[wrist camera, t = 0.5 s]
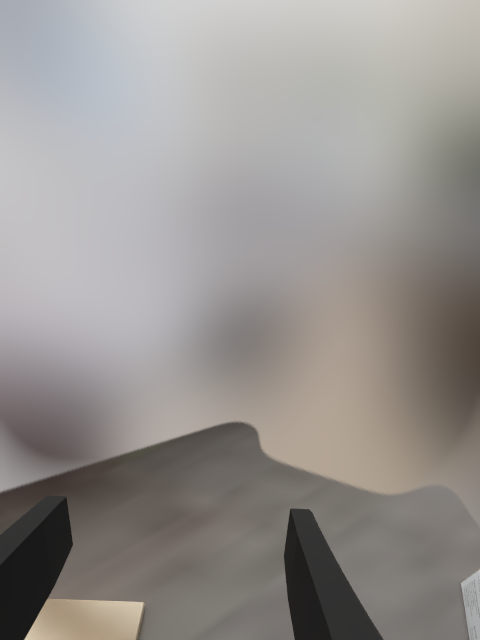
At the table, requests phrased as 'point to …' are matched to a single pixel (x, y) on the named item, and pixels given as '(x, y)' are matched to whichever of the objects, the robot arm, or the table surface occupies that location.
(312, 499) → the table surface
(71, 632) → the board
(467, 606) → the light bulb box
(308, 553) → the robot arm
